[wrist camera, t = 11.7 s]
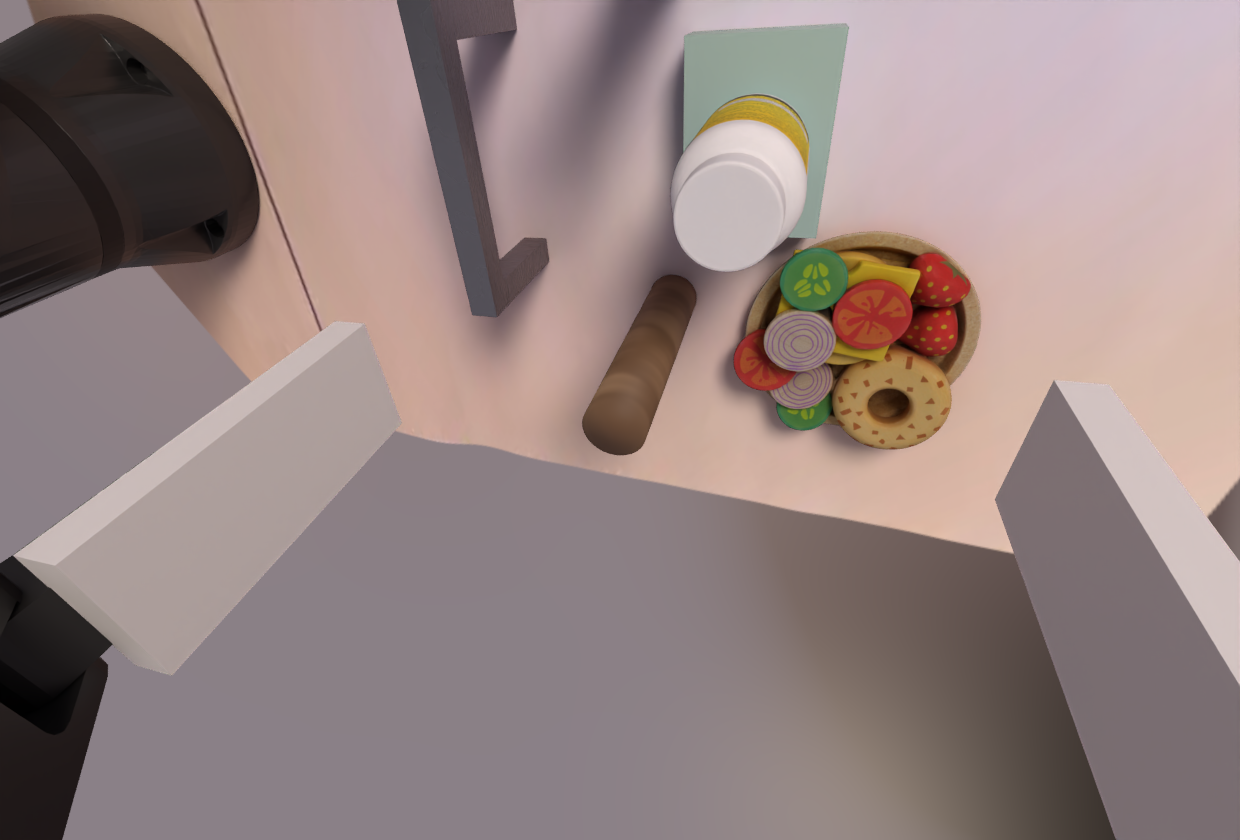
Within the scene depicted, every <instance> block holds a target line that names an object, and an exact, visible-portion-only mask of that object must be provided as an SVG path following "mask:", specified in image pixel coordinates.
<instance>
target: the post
mask: <svg viewBox="0 0 1240 840" xmlns="http://www.w3.org/2000/svg"><path fill="white" fill-rule="evenodd" d="M696 299H697V298H696V292H695V289H694V287H693V286H692V284H691V283H690V282H689V281H688V280H686V279H685V278H683V277H681V276H677V275H667V276H664V277H661V278H660V279H658V280H657V281H656V282H655V283H654V285H653V286H652V288H651V290H650V292H649V294H648V296H647V298H646V300H645V301H644V303H643V305H642V307H641V309H640V311H639V313H638V315H637V317H636V318H635V320H634V322H633V324H632V326H631V328H630V330H629V332H628V333H627V335H626V337H625V339H624V341H623V343H622V345H621V347H620V348H619V350H618V352H617V354H616V356H615V358H614V360H613V362H612V364H611V365H610V367H609V369H608V371H607V373H606V375H605V377H604V379H603V380H602V382H601V384H600V386H599V388H598V390H597V392H596V394H595V395H594V397H593V399H592V401H591V403H590V405H589V407H588V409H587V411H586V412H585V414H584V417H583V421H582V426H583V430H584V433H585V435H586V437H587V438H588V440H589V441H590V442H591V443H592V444H593V445H594V446H596V447H597V448H599V449H600V450H602V451H604V452H607V453H610V454H614V455H628V454H632V453H634V452H636V451H638V450H639V449H640V448H641V447H642V446H643V444H644V442H645V440H646V437H647V434H648V432H649V429H650V426H651V424H652V421H653V418H654V415H655V413H656V410H657V407H658V405H659V402H660V399H661V396H662V394H663V391H664V388H665V386H666V383H667V380H668V378H669V375H670V372H671V369H672V367H673V364H674V361H675V359H676V356H677V353H678V350H679V348H680V345H681V342H682V340H683V337H684V334H685V331H686V329H687V326H688V323H689V321H690V318H691V315H692V312H693V310H694V307H695V304H696Z"/></svg>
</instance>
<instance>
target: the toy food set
mask: <svg viewBox="0 0 1240 840" xmlns="http://www.w3.org/2000/svg"><path fill="white" fill-rule="evenodd" d="M980 327H981V312H980V304H979V300H978V297H977V294H976V291H975V289H974V286H973V284H972V282H971V281H970V279H969V277H968V276H967V274H966V273H965V272H964V270H963V269H962V268H961V267H960V265H959V264H958V263H957V262H956V261H955V260H954V259H953V258H951V257H950V256H949V255H948V254H946V253H945V252H944V251H942V250H940V249H939V248H937V247H935V246H934V245H932V244H929V243H927V242H925V241H923V240H920V239H917V238H914V237H911V236H907V235H903V234H898V233H892V232H879V231H876V232H859V233H852V234H846V235H841V236H838V237H834V238H831V239H828V240H825V241H822V242H820V243H817V244H815V245H813V246H811V247H809V248H807V249H805V250H795V251H794V254H793V257H792V258H791V259H790V260H788V261H787V262H786V263H784V264H783V265H782V266H781V267H780V268H779V269H778V270H777V271H776V272H775V273H774V274H773V275H772V276H771V277H770V278H769V279H768V281H767V282H766V283H765V284H764V286H763V287H762V289H761V290H760V292H759V293H758V295H757V297H756V299H755V301H754V303H753V305H752V307H751V310H750V313H749V316H748V320H747V325H746V337H745V338H744V339H743V340H742V341H741V342H740V343H739V345H738V346H737V348H736V351H735V354H734V369H735V371H736V374H737V375H738V377H739V378H740V380H741V381H742V382H743V383H745V384H746V385H747V386H749V387H751V388H754V389H757V390H764V391H766V392H767V393H768V394H769V395H770V396H771V397H772V398H773V399H774V400H776V401H777V413H778V415H779V417H780V419H781V420H782V421H783V423H784V424H786V425H787V426H788V427H790V428H793V429H796V430H811V429H814V428H816V427H819V426H820V425H821V424H822V423H826V424H833V425H840V426H841V427H842V428H843V430H844V431H845V432H846V433H847V434H848V435H849V436H850V437H852V438H853V439H854V440H856V441H858V442H860V443H862V444H864V445H867V446H870V447H874V448H879V449H903V448H908V447H911V446H914V445H917V444H919V443H921V442H923V441H925V440H927V439H928V438H930V437H931V436H932V435H934V434H935V433H936V432H937V431H938V430H939V429H940V428H941V427H942V425H943V424H944V422H945V421H946V419H947V417H948V414H949V412H950V408H951V401H952V398H951V390H950V385H951V384H952V383H953V382H954V381H955V380H956V379H957V378H958V377H959V376H960V375H961V373H962V372H963V371H964V369H965V368H966V366H967V364H968V363H969V361H970V360H971V358H972V356H973V353H974V351H975V349H976V346H977V341H978V338H979V334H980Z"/></svg>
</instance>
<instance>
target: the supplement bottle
mask: <svg viewBox="0 0 1240 840" xmlns="http://www.w3.org/2000/svg"><path fill="white" fill-rule="evenodd" d="M809 152H810V147H809V137H808V133H807V129H806V126H805V124H804V122H803V120H802V118H801V117H800V115H799V114H798V112H797V111H796V110H795V109H794V108H793V107H792V106H791V105H790V104H788V103H787V102H786V101H784V100H782V99H780V98H778V97H776V96H773V95H769V94H762V93H754V94H747V95H742V96H739V97H737V98H734V99H732V100H730V101H728V102H727V103H725V104H724V105H722V106H721V107H720V108H718V109H717V110H716V111H715V112H714V113H713V114H712V115H711V116H710V118H709V119H708V120H707V122H706V123H705V124H704V126H703V127H702V128H701V129H700V131H699V132H698V133H697V135H696V136H695V138H694V139H693V140H692V141H691V142H690V144H689V145H688V146H687V148H686V150H685V151H684V153H683V154H682V156H681V158H680V160H679V162H678V164H677V166H676V168H675V171H674V174H673V178H672V183H671V194H670V197H671V207H672V212H673V224H674V231H675V234H676V237H677V240H678V242H679V244H680V246H681V247H682V249H683V250H684V251H685V253H686V254H687V255H688V256H689V257H690V258H691V259H692V260H693V261H695V262H696V263H698V264H699V265H701V266H703V267H705V268H708V269H711V270H714V271H720V272H733V271H739V270H743V269H746V268H748V267H751V266H753V265H754V264H756V263H758V262H759V261H761V260H762V259H763V258H764V257H765V256H766V255H767V254H768V253H769V252H770V251H772V250H773V249H775V248H776V247H778V246H779V245H780V244H781V243H782V242H783V241H784V240H785V239H786V238H787V237H788V236H789V235H790V234H791V232H792V231H793V229H794V228H795V226H796V225H797V223H798V221H799V219H800V216H801V214H802V212H803V208H804V205H805V200H806V193H807V178H808V166H809Z"/></svg>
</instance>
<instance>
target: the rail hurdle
mask: <svg viewBox="0 0 1240 840" xmlns="http://www.w3.org/2000/svg"><path fill="white" fill-rule="evenodd" d="M397 4H398V8H399V12H400V16H401V20H402V25H403V29H404V33H405V37H406V41H407V45H408V50H409V54H410V58H411V62H412V66H413V70H414V75H415V79H416V83H417V87H418V91H419V95H420V99H421V104H422V108H423V112H424V116H425V120H426V124H427V129H428V133H429V137H430V141H431V145H432V149H433V154H434V158H435V162H436V166H437V170H438V174H439V179H440V183H441V187H442V191H443V195H444V199H445V203H446V208H447V212H448V216H449V220H450V224H451V228H452V233H453V237H454V241H455V245H456V249H457V253H458V258H459V262H460V266H461V270H462V274H463V278H464V282H465V287H466V291H467V295H468V299H469V303H470V307H471V312H472V315H476V316H489V317H498V316H499V314H500V313H501V312H502V311H503V310H504V309H505V308H506V307H507V306H508V305H509V304H510V303H511V302H512V301H513V299H514V298H515V297H516V296H517V295H518V294H519V293H520V292H521V291H522V290H523V289H524V288H525V287H526V286H527V285H528V283H529V282H530V281H531V280H532V279H533V278H534V277H535V276H536V275H537V274H538V273H539V272H540V271H541V270H542V268H543V267H544V266H545V265H546V264H547V263H548V262H549V256H548V249H547V241H546V239H543V238H524V239H523V240H521V241H520V242H519V243H518V244H517V245H516V246H515V247H514V248H513V249H511V250H510V251H509V252H508V253H507V254H506V255H505V256H504V257H503V258H501V259H500V260H499V255H498V250H497V245H496V239H495V234H494V229H493V224H492V219H491V214H490V209H489V204H488V198H487V193H486V188H485V183H484V178H483V173H482V168H481V163H480V157H479V152H478V147H477V142H476V137H475V132H474V127H473V122H472V116H471V111H470V106H469V101H468V96H467V91H466V86H465V81H464V75H463V70H462V65H461V60H460V55H459V50H458V45H457V40H459V39H465V38H471V37H477V36H483V35H488V34H494V33H500V32H506V31H512V30H517V26H516V19H515V12H514V5H513V0H397Z"/></svg>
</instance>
